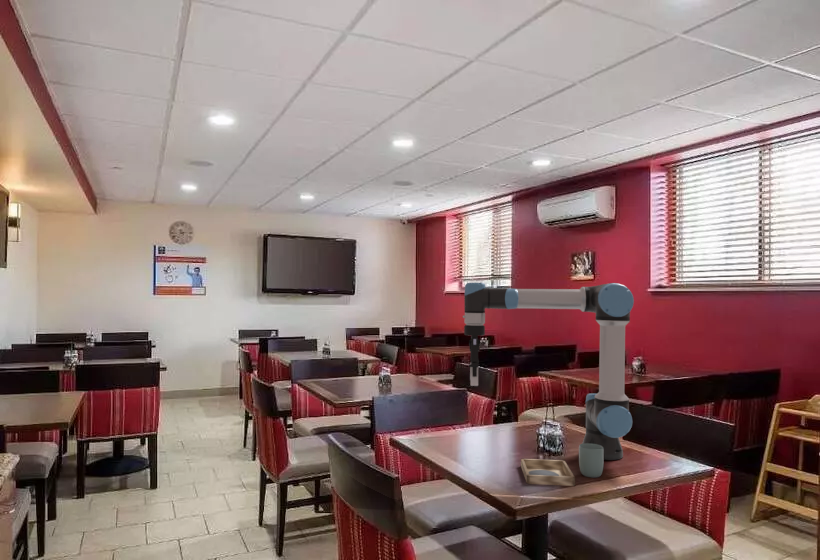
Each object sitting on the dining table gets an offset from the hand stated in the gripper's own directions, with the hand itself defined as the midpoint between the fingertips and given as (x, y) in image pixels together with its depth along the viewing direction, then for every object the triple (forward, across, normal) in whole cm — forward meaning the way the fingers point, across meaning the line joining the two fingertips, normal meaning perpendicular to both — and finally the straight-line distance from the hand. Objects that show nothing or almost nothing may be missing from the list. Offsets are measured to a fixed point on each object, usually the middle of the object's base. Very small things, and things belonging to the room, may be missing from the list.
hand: (474, 382), depth 210 cm
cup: (+28, +14, +39) cm, 50 cm away
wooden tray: (+28, +18, +24) cm, 41 cm away
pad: (+27, +18, +23) cm, 40 cm away
